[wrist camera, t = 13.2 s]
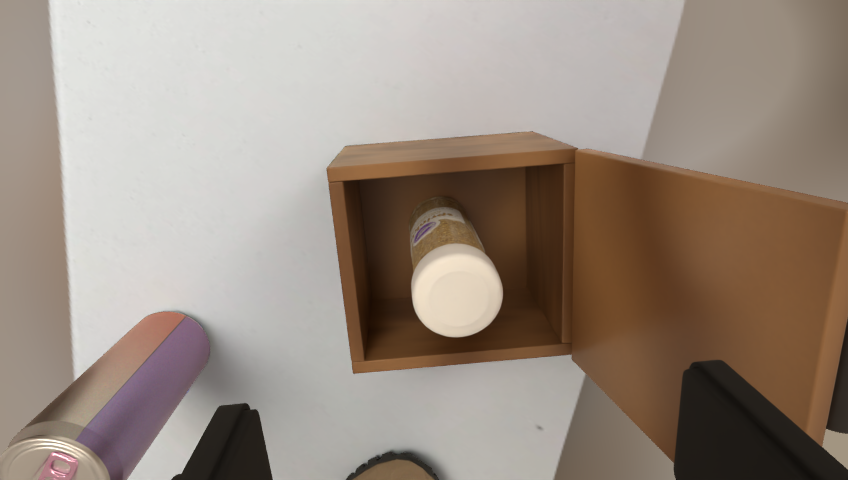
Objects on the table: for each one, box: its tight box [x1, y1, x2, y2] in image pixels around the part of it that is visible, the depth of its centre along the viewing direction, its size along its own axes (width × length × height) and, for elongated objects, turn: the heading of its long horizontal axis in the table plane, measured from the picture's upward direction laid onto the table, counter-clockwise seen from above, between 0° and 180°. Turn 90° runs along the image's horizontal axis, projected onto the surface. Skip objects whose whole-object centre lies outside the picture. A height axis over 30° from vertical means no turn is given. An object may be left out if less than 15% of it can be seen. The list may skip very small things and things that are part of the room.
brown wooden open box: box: [327, 131, 578, 374], centre depth 34 cm, size 14×13×10 cm
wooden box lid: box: [572, 149, 848, 462], centre depth 22 cm, size 14×13×5 cm
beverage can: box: [0, 312, 210, 480], centre depth 33 cm, size 6×6×15 cm
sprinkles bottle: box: [409, 196, 503, 337], centre depth 31 cm, size 5×5×14 cm
